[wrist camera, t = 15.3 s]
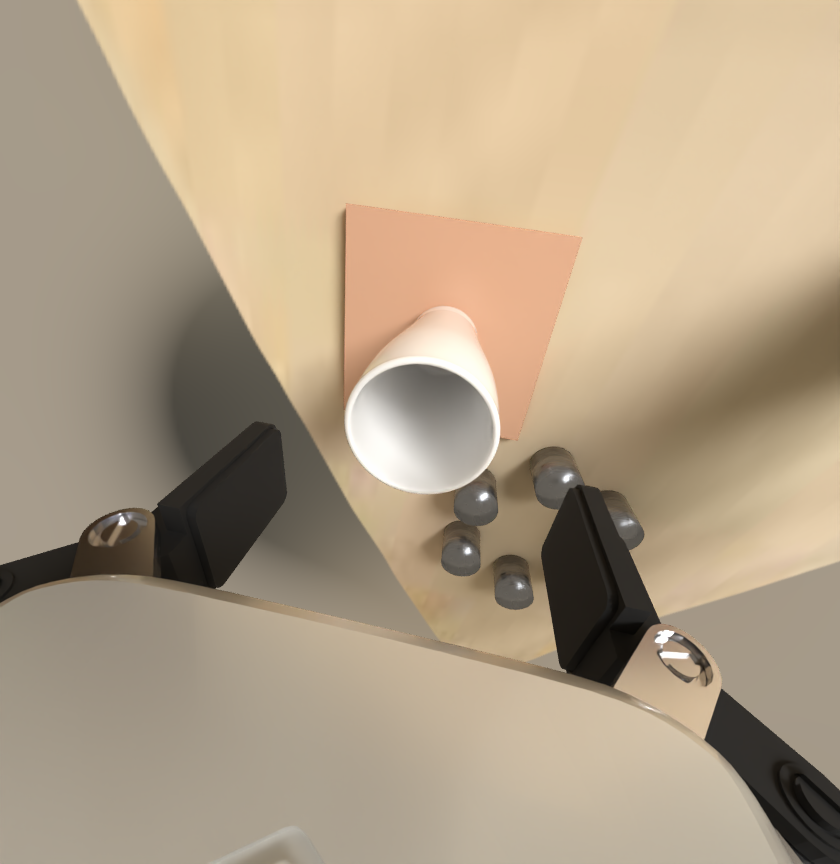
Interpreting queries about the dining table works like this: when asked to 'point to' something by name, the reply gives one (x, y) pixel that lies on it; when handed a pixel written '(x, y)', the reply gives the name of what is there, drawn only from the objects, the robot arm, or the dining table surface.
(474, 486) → the spacer posts
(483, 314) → the terracotta tile
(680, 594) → the dining table surface
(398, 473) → the drinking glass
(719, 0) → the dining table surface
